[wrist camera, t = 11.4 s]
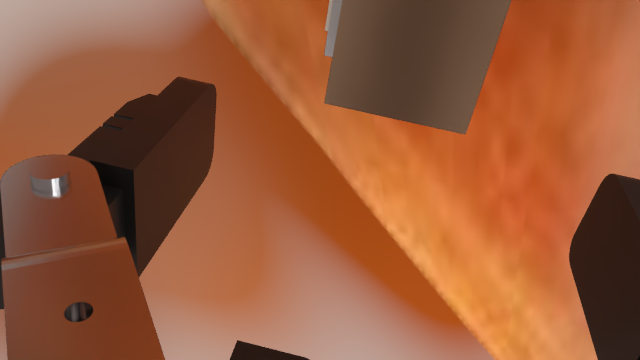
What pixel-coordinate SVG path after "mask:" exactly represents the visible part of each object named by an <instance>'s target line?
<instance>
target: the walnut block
mask: <svg viewBox="0 0 640 360" xmlns="http://www.w3.org/2000/svg"><path fill="white" fill-rule="evenodd" d="M510 3H511V0H342V6H341V11H340V17H339V23H338V28H337V34H336V40H335V45H334V51H333V57H332V62H331V68H330V74H329V79H328V85H327V91H326V96H325V102H324V103H325V104H330V105H334V106H339V107H343V108H348V109H352V110H357V111H361V112H366V113H370V114H375V115H379V116H384V117H388V118H393V119H397V120H402V121H406V122H411V123H415V124H420V125H425V126H429V127H434V128H438V129H443V130H447V131H452V132H456V133H461V134H466V131H467V128H468V125H469V123H470V120H471V117H472V114H473V111H474V108H475V105H476V102H477V99H478V96H479V93H480V90H481V87H482V85H483V82H484V79H485V76H486V73H487V70H488V67H489V64H490V61H491V58H492V55H493V52H494V50H495V47H496V44H497V41H498V38H499V35H500V32H501V29H502V26H503V23H504V20H505V17H506V14H507V12H508V9H509V6H510Z"/></svg>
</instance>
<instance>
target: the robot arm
mask: <svg viewBox="0 0 640 360" xmlns="http://www.w3.org/2000/svg"><path fill="white" fill-rule="evenodd" d="M215 113H216V88H215V86H214V85H213V84H209V83H205V82H200V81H196V80H191V79H187V78H182V77H177V78H176V79H175V80H173V81H172V82H171V83H170V84H169V85H168V86H167V87H166V88H165V89H164V90H163V91H162V92H161V93H160V94H159V95H158V96H156V95H152V94H148V95H145V96H142V97H140V98H137V99H134V100H132V101H129V102H127V103H126V104H125V105H124V106H123V107H122V108H120V109H119V110H118V111H117V112H116V113H115V114H114V117H110V118H109V119H108V120H107V121H106V122H105V123H103V126H102V127H99V128H98V129H96V130H95V131H94V132H93V133H92V134H91V135H90V136H89V137H88V138H86V139H85V140H84V141H83V142H82V143H81V144H80V145H78V146H77V147H76V148H75V149H74V150H73V151H71V152H70V153H69V154H68V155H43V156H37V157H33V158H29V159H26V160H23V161H21V162H19V163H17V164H15V165H14V166H12V167H10V168H9V169H8V170H7V171H6V172H5V173H4V174H3V176H2V178H1V180H0V309H4V311H5V327H6V342H7V356H8V360H165V358H164V355H163V352H162V349H161V345H160V342H159V339H158V336H157V333H156V330H155V327H154V324H153V321H152V317H151V314H150V311H149V308H148V305H147V302H146V299H145V296H144V292H143V289H142V286H141V283H140V280H139V277H140V275H141V273H142V272H143V271H144V269H145V267H146V266H147V264H148V263H149V262H150V260H151V259H152V257H153V256H154V254H155V253H156V251H157V250H158V248H159V247H160V245H161V244H162V242H163V241H164V239H165V238H166V236H167V235H168V233H169V232H170V230H171V229H172V227H173V226H174V224H175V223H176V221H177V220H178V218H179V217H180V215H181V214H182V212H183V211H184V209H185V208H186V206H187V205H188V203H189V202H190V201H191V199H192V198H193V196H194V195H195V193H196V192H197V190H198V188H199V187H200V185H201V184H202V183H203V181H204V179H205V178H206V176H207V174H208V172H209V169H210V165H211V162H212V157H213V149H214V132H215V131H214V130H215ZM569 261H570V266H571V270H572V273H573V276H574V280H575V283H576V287H577V290H578V293H579V297H580V300H581V304H582V307H583V310H584V314H585V317H586V321H587V324H588V327H589V331H590V334H591V338H592V341H593V344H594V348H595V351H596V355H597V358H598V360H640V180H639V179H635V178H630V177H626V176H621V175H617V174H609V175H608V176H606V177H605V178H604V180H603V181H602V182H601V184H600V186H599V188H598V190H597V192H596V194H595V196H594V198H593V199H592V201H591V203H590V205H589V207H588V209H587V211H586V213H585V215H584V217H583V219H582V221H581V223H580V224H579V226H578V228H577V230H576V232H575V234H574V236H573V239H572V242H571V247H570V254H569ZM230 360H309V359H307V358H305V357H301V356H297V355H293V354H289V353H285V352H280V351H277V350H273V349H269V348H265V347H261V346H258V345H253V344H250V343H245V342H242V341H238V340H237V343H236V345H235V348H234V350H233V353H232V355H231V358H230Z"/></svg>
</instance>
